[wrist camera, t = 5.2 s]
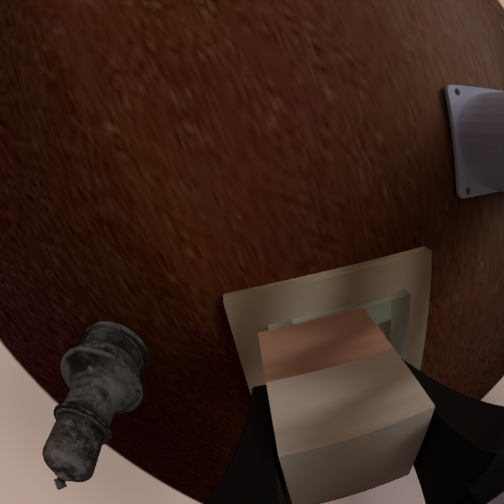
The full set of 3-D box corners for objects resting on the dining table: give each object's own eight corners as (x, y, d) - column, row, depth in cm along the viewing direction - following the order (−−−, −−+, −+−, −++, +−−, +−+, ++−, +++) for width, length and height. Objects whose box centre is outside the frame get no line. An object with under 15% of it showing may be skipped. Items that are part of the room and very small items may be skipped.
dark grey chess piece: (137, 391, 21) (104, 522, 10) (72, 357, 20) (9, 475, 9) (165, 343, 20) (128, 500, 8) (90, 302, 18) (1, 435, 7)
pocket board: (424, 246, 19) (438, 254, 17) (410, 386, 24) (419, 399, 22) (223, 293, 19) (223, 308, 17) (263, 429, 24) (265, 444, 22)
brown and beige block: (362, 306, 12) (435, 406, 6) (361, 381, 14) (408, 474, 8) (257, 332, 12) (278, 456, 6) (274, 403, 14) (294, 509, 8)
